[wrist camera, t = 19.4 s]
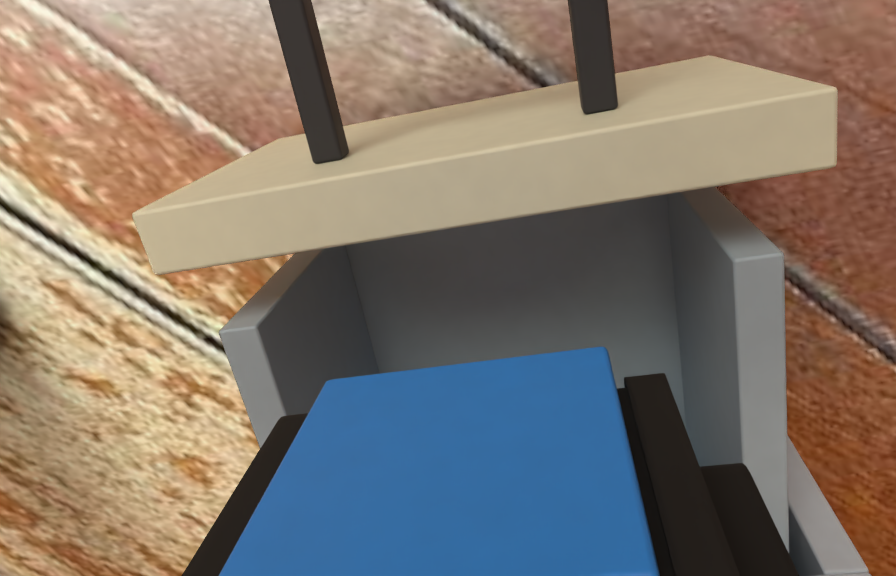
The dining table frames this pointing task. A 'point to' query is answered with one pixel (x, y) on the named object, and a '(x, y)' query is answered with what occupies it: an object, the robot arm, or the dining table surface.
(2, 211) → the dining table surface
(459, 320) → the drawer
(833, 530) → the gray box
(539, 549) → the blue toy cube
